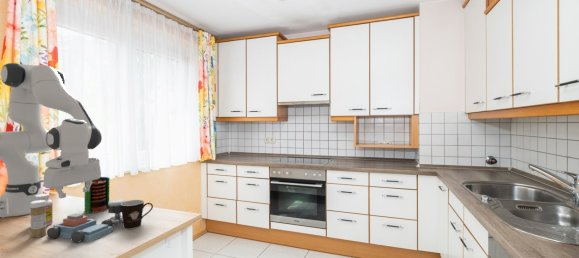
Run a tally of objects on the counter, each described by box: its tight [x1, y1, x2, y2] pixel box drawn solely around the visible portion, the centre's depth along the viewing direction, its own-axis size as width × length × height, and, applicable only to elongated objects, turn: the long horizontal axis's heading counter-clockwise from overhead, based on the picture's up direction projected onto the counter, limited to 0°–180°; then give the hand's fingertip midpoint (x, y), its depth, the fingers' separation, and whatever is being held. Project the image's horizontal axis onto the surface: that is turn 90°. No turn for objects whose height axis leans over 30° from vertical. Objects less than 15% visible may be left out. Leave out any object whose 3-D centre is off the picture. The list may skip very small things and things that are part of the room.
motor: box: [84, 176, 110, 214], centre depth 138 cm, size 10×9×20 cm
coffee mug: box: [121, 199, 154, 230], centre depth 119 cm, size 12×9×10 cm
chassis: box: [46, 215, 114, 244], centre depth 110 cm, size 20×14×4 cm
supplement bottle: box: [35, 193, 54, 227], centre depth 118 cm, size 7×7×13 cm
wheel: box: [107, 199, 127, 214], centre depth 123 cm, size 7×7×4 cm
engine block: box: [62, 213, 88, 227], centre depth 111 cm, size 6×5×5 cm
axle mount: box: [109, 212, 123, 226], centre depth 123 cm, size 6×6×5 cm
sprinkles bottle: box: [30, 200, 47, 239], centre depth 107 cm, size 5×5×14 cm
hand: (74, 194), depth 110 cm, fingers open, 8 cm apart
